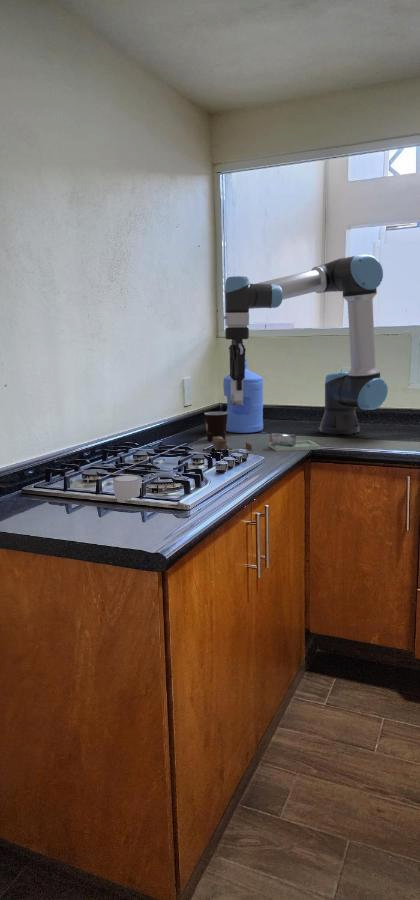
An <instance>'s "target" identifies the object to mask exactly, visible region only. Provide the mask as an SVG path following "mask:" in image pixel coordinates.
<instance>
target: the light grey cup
mask: <svg viewBox="0 0 420 900" xmlns="http://www.w3.org/2000/svg"><path fill="white" fill-rule="evenodd" d="M142 479H143V478H142V476H140V475H135V474H124V475H117V476H115V477H113V478H112V486H113V493H114V499H115V498H116V499H117V501H116V502H118V503H125V502H124V501H125V500H128V499H131V498H135V497H138V496H139V494H140V488H141V489H142V484H143V481H142Z"/></svg>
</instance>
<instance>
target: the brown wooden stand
mask: <svg viewBox="0 0 420 900" xmlns="http://www.w3.org/2000/svg"><path fill="white" fill-rule="evenodd" d="M211 444H212V445H214V446H215V449H216V450H221V449H229V446H228V444H227V440H226V438H225V439H223V438H222V437H221V436H217V437H212V443H211ZM252 447H253V445H252V444H251V443H250V442H245V447H241V448H240V447H239V448H238V447H237V448H235V449H247V450H252V449H253V448H252Z"/></svg>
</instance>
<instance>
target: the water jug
mask: <svg viewBox="0 0 420 900" xmlns="http://www.w3.org/2000/svg"><path fill="white" fill-rule="evenodd" d="M247 361H248V359H247V358H245V378H244V379H243V405H242V406H231V377H230V374H229V375H226V376H225V377H224V378H223V384H222V387H223V395H224V397H226V402H227V403H226V404H227V405H226V411H225V412H227V413H228V416H227V426H226V432H228V433H235V434H249V433H258V432H261V431H262V430H263V429H264V417H263V415H264V414H263V413H264V410H263V409H264V403H263V399H264V397H263V396H264V395H263V394H264V393H263V392H264V391H263V389H264V381H263V379H264V378H263V376H261V375H259V374H257V373H254V372H252V370H251V371H250V370H248V367H247V366H248V362H247Z"/></svg>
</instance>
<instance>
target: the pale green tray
mask: <svg viewBox="0 0 420 900" xmlns="http://www.w3.org/2000/svg"><path fill="white" fill-rule="evenodd" d="M268 447H269V448H270V449H272V450H274V451H276V452H289V451H290V452H293V451H312V450H315V451H317V450H320V448H321V447H320V445H319V444H318V443H316V442H314V441H312V440H310V439H309V440H296V444H295V446H294V447H293V446H278V445H270V442H268Z"/></svg>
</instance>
